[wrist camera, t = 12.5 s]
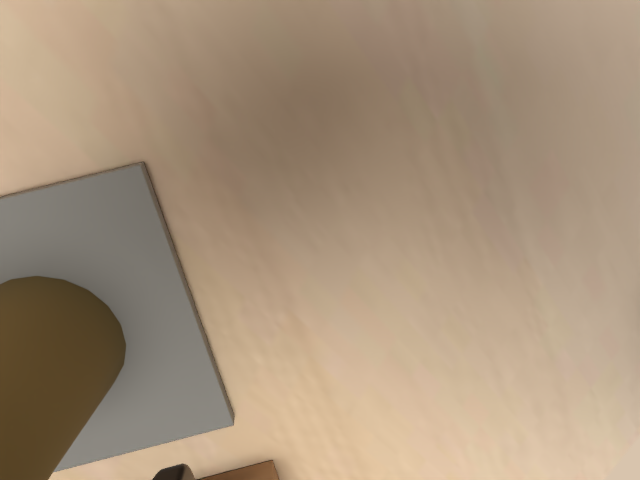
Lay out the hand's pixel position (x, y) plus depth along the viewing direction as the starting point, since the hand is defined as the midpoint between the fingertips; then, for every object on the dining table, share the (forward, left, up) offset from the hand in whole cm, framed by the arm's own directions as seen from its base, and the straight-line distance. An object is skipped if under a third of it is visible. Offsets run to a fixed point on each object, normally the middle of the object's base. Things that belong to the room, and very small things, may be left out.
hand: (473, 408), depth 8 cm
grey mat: (+13, +3, -13) cm, 19 cm away
